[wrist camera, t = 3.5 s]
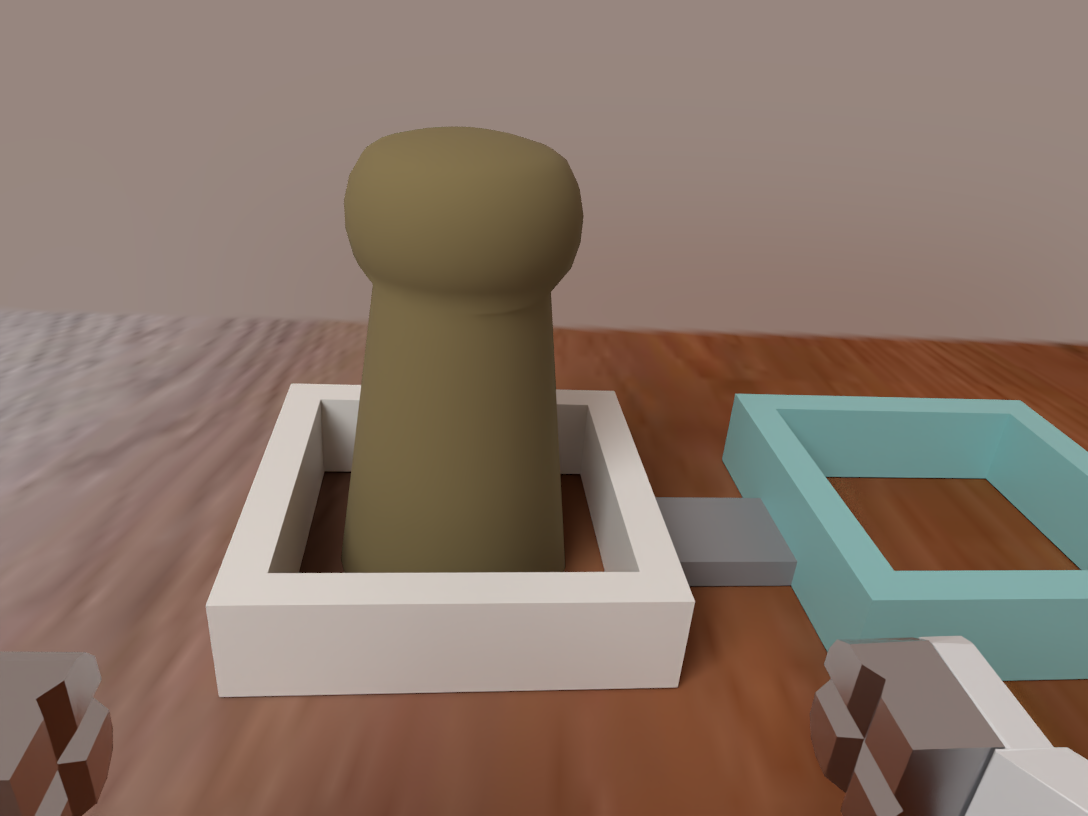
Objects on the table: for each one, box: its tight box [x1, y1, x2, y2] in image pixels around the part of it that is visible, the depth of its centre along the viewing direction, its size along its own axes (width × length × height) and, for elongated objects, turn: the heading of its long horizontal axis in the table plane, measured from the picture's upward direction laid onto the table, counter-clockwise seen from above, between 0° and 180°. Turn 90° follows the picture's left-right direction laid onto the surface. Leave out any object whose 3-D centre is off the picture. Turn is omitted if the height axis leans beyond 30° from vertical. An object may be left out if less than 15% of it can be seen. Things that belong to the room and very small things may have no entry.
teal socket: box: [722, 394, 1088, 681], centre depth 24 cm, size 10×10×2 cm
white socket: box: [206, 384, 797, 697], centre depth 22 cm, size 14×10×2 cm
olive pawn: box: [341, 127, 583, 573], centre depth 20 cm, size 6×6×11 cm
